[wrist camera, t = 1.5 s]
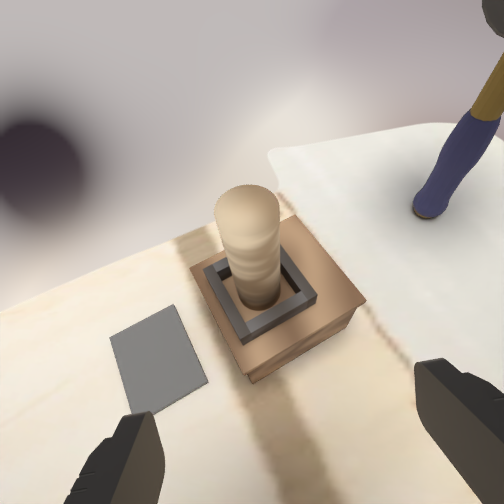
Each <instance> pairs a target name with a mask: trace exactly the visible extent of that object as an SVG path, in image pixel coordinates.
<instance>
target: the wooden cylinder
mask: <svg viewBox="0 0 504 504" xmlns="http://www.w3.org/2000/svg"><path fill="white" fill-rule="evenodd" d="M214 216H215V220H216V223H217V226H218V230H219V233H220V236H221V240H222V243H223V246H224V250H225V253H226V256H227V260H228V263H229V266H230V269H231V273H232V276H233V279H234V283H235V286H236V289H237V293H238V296H239V299H240V301H241V302H242V304H243V305H244V306H245V307H247V308H249V309H251V310H254V311H263V310H267V309H269V308H271V307H272V306H274V305H275V304H276V302H277V301H278V299H279V297H280V291H281V288H280V212H279V202H278V200H277V198H276V196H275V195H274V194H273V193H272V192H271V191H269V190H268V189H266V188H264V187H261V186H257V185H241V186H237V187H234V188H232V189H230V190H228V191H227V192H225V193H224V194H223V195H222V196H221V197H220V198H219V199H218V201H217V203H216V205H215V208H214Z"/></svg>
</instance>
